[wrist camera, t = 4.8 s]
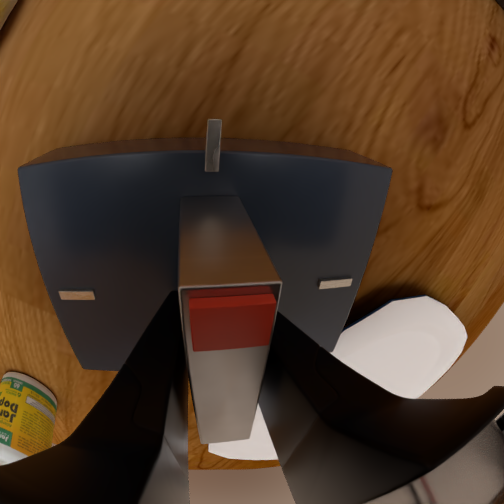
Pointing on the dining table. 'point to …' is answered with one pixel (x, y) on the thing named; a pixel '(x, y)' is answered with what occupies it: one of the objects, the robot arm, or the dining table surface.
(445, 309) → the plate
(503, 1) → the button box
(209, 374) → the tap handle
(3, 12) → the bread roll
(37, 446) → the supplement bottle
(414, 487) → the robot arm
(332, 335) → the panel
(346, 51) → the dining table surface
